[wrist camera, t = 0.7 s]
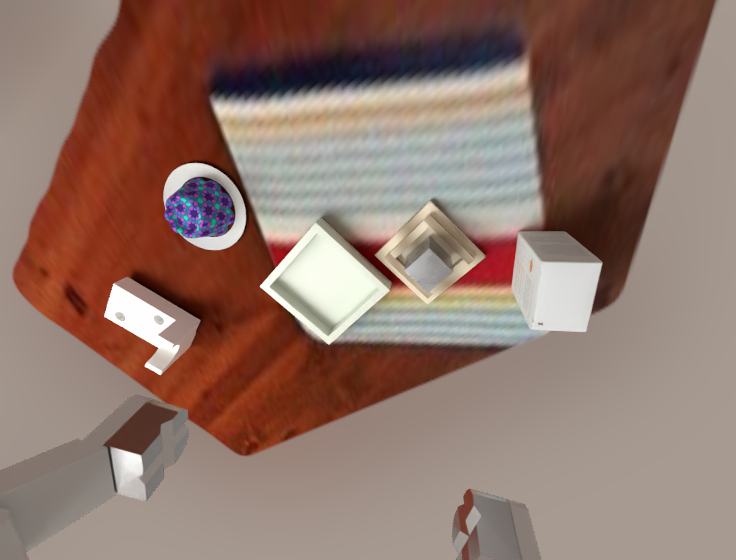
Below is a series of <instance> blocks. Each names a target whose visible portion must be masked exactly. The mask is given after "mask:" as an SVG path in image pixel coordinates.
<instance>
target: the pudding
mask: <svg viewBox="0 0 736 560" xmlns="http://www.w3.org/2000/svg"><path fill="white" fill-rule="evenodd" d="M194 177H207V178H210V179H212V180H214V181H212V180H209V181H206V182H205V181H204V180H203V179H201V178H194ZM191 178H194V179H192V180H190V181H189V182H188V183H187V184H185V185H183V184H184V183H185V182H186V181H187V180H189V179H191ZM215 181H216V182H218V183H219V184H220V185H222V186H223V187H224V188H225V189H226V191H227V192H228V193H229V195H230V196H231V198H232V201H233V203H234V207H235V214H236V215H235V221H234V213H233V212H232V210H231V207H232V201H231V198H230V197H229V195H228V194H226V193H224V192H222V190H221V187H220V185H219V184H217V183H216V182H215ZM182 185H183V186H182ZM164 204H165V209H166V210H165V217H166V219H167V220H168V221H169V222H170V226H171V228H172V229H173V230H174V231H175V232H177V233H180V234H181V235H182V236H183V237H184V238H185V239H186V240H188V241H189V242H191V243H192V244H194V245H196V246H198V247H201V248H204V249H209V250H221V249H225V248H228V247H230V246H232V245H233V244H234V243H236V242H237V241H238V239H239V238H240V237H241V235H242V233H243V231H244V228H245V224H246V209H245V205H244V202H243V199H242V196H241V194H240V192H239V191H238V189H237V187H236V186H235V185H234V183H233V182H232V181H231V180H230V179H229V178H228V177H227V176H226V175H225V174H223V173H222V172H221V171H219V170H218V169H216V168H214V167H212V166H209V165H206V164H201V163H188V164H185V165H182V166H180V167H178V168H177V169H175V170H174V171H173V172H172V173H171V174H170V176H169V177H168V179H167V182H166V184H165V188H164ZM233 221H234V225H233V226H232V228H231V229H230V231H229V232H228V233H226V232H227V231H228V225H230V224H232V223H233ZM225 233H226V234H225ZM222 234H225V235H223V236H220V237H208V236H215V235H222Z"/></svg>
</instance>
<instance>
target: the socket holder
mask: <svg viewBox="0 0 736 560" xmlns="http://www.w3.org/2000/svg"><path fill="white" fill-rule="evenodd" d="M429 235H430V236H431V237H432V238H433V239H434V240H435V241H436V242H437V243H438V244H439V245H440V246H441V247H442V248H443V249H444V250H445V251H446V252H447V253H448V254H449V255H450V256H451V259H452V265H453V273H452V274H450V275H449V276H448V277H447V278H446V279H444V280H443V281H442V282H441V283H440V284H438V285H437V286H436V287H435V288H434V289H432V290H431V291H430V292H429V293H427V292H426V291H425V290H424V289H423V288H422V287H421V286H420V285H419V284H418V283H417V282H416V281H415V280H413V279H412V278H411V277H410V276H409V275H408V274H407V273H406V272H405V271H404V270H405V264H406V258H407V255H408V254H409V253H411V252H412V251H413V250H414V249H415V248H416V247H417V246H418V245H419V244H420V243H421V242H422V241H424V240H425V239H426V238H427V237H428V236H429ZM375 256H376V257H377V258H378V259H379V260H380V261H381V262H382V263H383V264H384V265H385V266H386V267H388V268H389V269H390V270H391V271H392V272H393V273H394V274H395V275H396V276H397V277H398V278H399V279H401V280H402V281H403V282H404V283H405V284H406V285H407V286H408V287H409V288H410V289H411V290H412V291H413V292H415V293H416V294H417V295H418V296H419V297H420V298H421V299H422V300H423V301H424V302H425V303H426V304H429V303H430V302H431V301H432V300H434V299H435V298H436V297H437V296H438V295H440V294H441V293H442V292H443V291H445V290H446V289H447V288H448V287H450V286H451V285H452V284H453V283H454V282H456V281H457V280H458V279H459V278H461V277H462V276H463V275H464V274H465V273H467V272H468V271H469V270H470V269H472V268H473V267H474V266H475V265H477V264H478V263H479V262H480V261H481V260H483V259H484V258H485V257H486V256H485V254H484V253H483V252H482V251H481V250H480V249H479V248H478V247H477V246H476V245H475V244H474V243H473V242H472V241H471V240H470V239H469V238H468V237H467V236H466V235H465V234H464V233H463V232H462V231H461V230H460V229H459V228H458V227H457V226H456V225H455V224H454V223H453V222H452V221H451V220H450V219H449V218H448V217H447V216H446V215H445V214H444V213H443V212H442V211H441V210H440V209H439V208H438V207H437V206H436V205H435V204H434V203H433V202H432V201H431V200H430V201H429V202H428V203H427V204H426V205H425V206H424V207H423V208H422V209H421V210H420V211H419V212H417V213H416V214H415V215H414V216H413V217H412V218H411V219H410V220H409V221H408V222H407V223H406V224H405V225H404V226H403V227H402V228H401V229H400V230H399V231H398V232H397V233H396V234H395V235H394V236H393V237H392V238H391V239H390V240H389V241H388V242H387V243H386V244H385V245H384V246H383V247H382V248H381V249H380V250H379V251H378V252H376V253H375Z"/></svg>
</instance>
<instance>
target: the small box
mask: <svg viewBox="0 0 736 560" xmlns="http://www.w3.org/2000/svg"><path fill="white" fill-rule="evenodd" d="M602 264H603V262H602V261H601V260H600V259H598V258H597V257H596V256H595V255H593V254H592V253H591V252H590V251H589V250H587V249H586V248H585V247H584V246H582V245H581V244H580V243H579V242H578V241H576V240H575V239H574V238H573V237H572V236H570V235H569V234H568V233H567V232H565V231H519V232H518V238H517V247H516V255H515V263H514V271H513V279H512V286H511V289H512V291H513V293H514V296H515V298H516V300H517V302H518V304H519V306H520V308H521V311H522V313H523V315H524V317H525V319H526V321H527V323H528V325H529V328H530V329H531V330H550V331H573V332H587V328H588V324H589V320H590V316H591V311H592V307H593V302H594V298H595V294H596V289H597V285H598V281H599V277H600V273H601V268H602Z"/></svg>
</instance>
